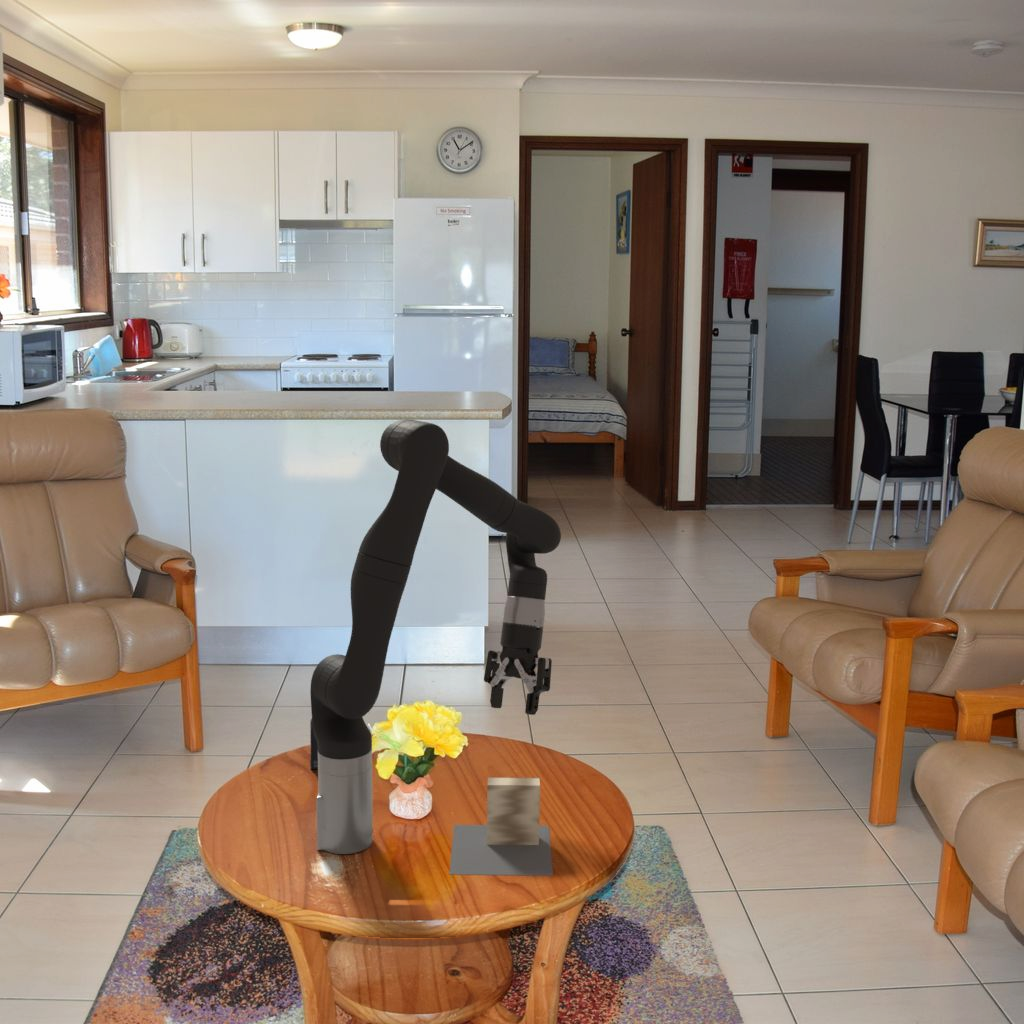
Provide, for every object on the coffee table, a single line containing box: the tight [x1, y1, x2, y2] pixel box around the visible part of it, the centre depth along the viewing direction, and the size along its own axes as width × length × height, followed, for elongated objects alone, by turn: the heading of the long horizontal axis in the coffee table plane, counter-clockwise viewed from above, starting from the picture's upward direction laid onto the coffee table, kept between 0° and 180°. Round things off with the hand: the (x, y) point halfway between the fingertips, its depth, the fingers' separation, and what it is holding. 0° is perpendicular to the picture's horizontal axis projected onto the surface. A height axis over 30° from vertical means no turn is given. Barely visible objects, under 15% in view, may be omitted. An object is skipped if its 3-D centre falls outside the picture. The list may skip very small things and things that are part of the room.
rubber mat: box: [448, 824, 554, 877], centre depth 200 cm, size 17×18×1 cm
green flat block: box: [486, 776, 541, 845], centre depth 202 cm, size 9×3×11 cm, turn 90°
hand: (513, 711), depth 213 cm, fingers open, 8 cm apart
